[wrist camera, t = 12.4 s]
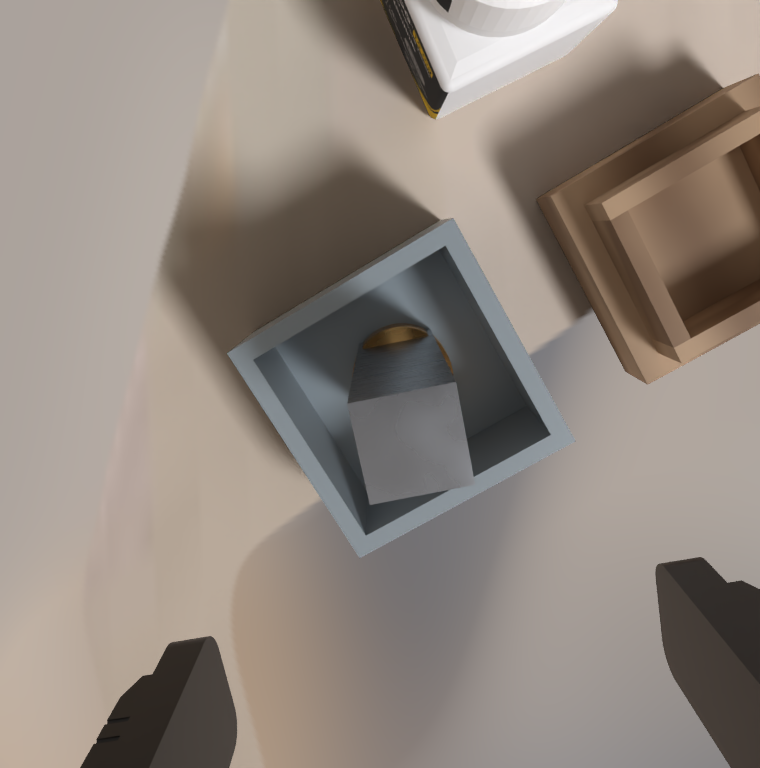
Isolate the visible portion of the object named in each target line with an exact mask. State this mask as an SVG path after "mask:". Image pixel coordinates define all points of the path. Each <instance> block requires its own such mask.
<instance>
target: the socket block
mask: <svg viewBox="0 0 760 768" xmlns="http://www.w3.org/2000/svg"><path fill="white" fill-rule="evenodd" d="M536 200H537V202H538V204H539V206H540V208H541V210H542V212H543V214H544V216H545V218H546V220H547V221H548V223H549V225H550V227H551V229H552V231H553V233H554V235H555V237H556V239H557V241H558V243H559V245H560V247H561V248H562V250H563V252H564V254H565V256H566V258H567V260H568V262H569V264H570V266H571V268H572V270H573V272H574V273H575V275H576V277H577V279H578V281H579V283H580V285H581V287H582V289H583V291H584V293H585V295H586V297H587V299H588V300H589V302H590V304H591V306H592V308H593V310H594V312H595V314H596V316H597V318H598V320H599V322H600V324H601V325H602V327H603V329H604V331H605V333H606V335H607V337H608V339H609V341H610V343H611V345H612V347H613V348H614V350H615V352H616V354H617V356H618V358H619V360H620V362H621V364H622V366H623V368H624V369H625V371H626V372H627V373H629V374H630V375H632V376H634V377H636V378H637V379H639V380H641V381H642V382H644V383H646V384H650V383H651V382H653V381H655V380H657V379H659V378H661V377H663V376H664V375H666V374H668V373H670V372H672V371H673V370H675V369H677V368H679V367H681V366H683V365H685V364H686V363H688V362H690V361H692V360H693V359H695V358H697V357H699V356H701V355H703V354H705V353H707V352H708V351H710V350H712V349H714V348H716V347H718V346H719V345H721V344H723V343H725V342H727V341H728V340H730V339H732V338H734V337H736V336H738V335H740V334H741V333H743V332H745V331H747V330H749V329H751V328H752V327H754V326H756V325H758V324H760V76H759V74H756V75H754V76H751V77H749V78H747V79H744V80H742V81H739V82H737V83H734V84H732V85H730V86H727V87H725V88H723V89H721V90H719V91H718V92H716V93H714V94H713V95H711V96H709V97H708V98H706V99H704V100H703V101H701V102H699V103H697V104H696V105H694V106H692V107H691V108H689V109H687V110H686V111H684V112H682V113H681V114H679V115H677V116H676V117H674V118H672V119H670V120H669V121H667V122H665V123H664V124H662V125H660V126H659V127H657V128H655V129H654V130H652V131H650V132H648V133H647V134H645V135H643V136H642V137H640V138H638V139H637V140H635V141H633V142H632V143H630V144H628V145H627V146H625V147H623V148H621V149H620V150H618V151H616V152H615V153H613V154H611V155H610V156H608V157H606V158H605V159H603V160H601V161H599V162H598V163H596V164H594V165H593V166H591V167H589V168H588V169H586V170H584V171H583V172H581V173H579V174H578V175H576V176H574V177H572V178H571V179H569V180H567V181H566V182H564V183H562V184H561V185H559V186H557V187H556V188H554V189H552V190H550V191H549V192H547V193H545V194H544V195H542V196H540V197H539V198H537V199H536Z"/></svg>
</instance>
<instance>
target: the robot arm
mask: <svg viewBox="0 0 760 768" xmlns="http://www.w3.org/2000/svg"><path fill="white" fill-rule="evenodd" d="M656 585H657V593H658V604H659V613H660V622H661V632H662V641H663V646H664V651H665V655H666V659H667V662H668V665H669V668H670V670H671V672H672V675H673V677H674V679H675V680H676V682H677V683H678V685H679V687H680V688H681V690H682V691H683V693H684V695H685V696H686V698H687V699H688V701H689V703H690V704H691V706H692V707H693V709H694V710H695V712H696V714H697V715H698V717H699V718H700V720H701V721H702V723H703V725H704V726H705V728H706V729H707V731H708V732H709V734H710V736H711V737H712V739H713V740H714V742H715V743H716V745H717V747H718V748H719V750H720V751H721V753H722V754H723V756H724V758H725V759H726V761H727V762H728V764H729V765H730V767H731V768H760V589H758V588H756V587H754V586H752V585H750V584H748V583H745V582H743V581H736V582H730V583H727V582H726V581H725V580H724V579H723V578H722V577H721V576H720V575H719V574H718V573H717V572H716V571H715V569H714V568H712V566H711V565H710V564H709V563H708V562H707V561H706V560H704V558H701V557H698V558H692V559H687V560H680V561H674V562H668V563H661V564H658V565H657V567H656ZM107 721H108V723H107V724H106V725H104V727H103V729H102V730H101V732H100V734H99V736H98V738H97V743H96V744H94V745H93V746H92V748H91V750H90V752H89V753H88V755H87V757H86V759H85V760H84V762H83V764H82V766H81V767H80V768H229V766H230V763H231V759H232V756H233V753H234V749H235V745H236V738H237V719H236V712H235V707H234V703H233V699H232V696H231V692H230V688H229V685H228V681H227V677H226V674H225V670H224V666H223V663H222V659H221V655H220V652H219V648H218V645H217V643H216V641H215V639H214V638H213V637H211V636H208V637H202V638H196V639H190V640H184V641H178V642H172V643H170V644H169V645H168V646H167V648H166V650H165V652H164V654H163V655H162V657H161V659H160V661H159V663H158V665H157V667H156V669H155V671H154V673H153V674H152V675H146V676H142V677H141V678H140V679H139V680H138V681H137V682H136V683H135V684H134V685H133V686H132V687H131V688H130V689H129V690H127V691H126V692H125V693H124V694H123V695H122V696H121V697H120V699H119V701H118V702H117V704H116V706H115V708H114V709H113V711H112V713H111V715H110V716H109V718H108V720H107Z"/></svg>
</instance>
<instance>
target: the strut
mask: <svg viewBox="0 0 760 768" xmlns="http://www.w3.org/2000/svg"><path fill="white" fill-rule="evenodd" d="M347 406H348V410H349V415H350V419H351V423H352V428H353V432H354V437H355V441H356V446H357V450H358V455H359V459H360V464H361V468H362V472H363V477H364V481H365V486H366V490H367V495H368V499H369V504H370V505H373V504H378V503H383V502H388V501H394V500H399V499H404V498H409V497H414V496H420V495H425V494H430V493H435V492H440V491H446V490H451V489H456V488H461V487H466V486H472V485H475V481H474V476H473V470H472V465H471V459H470V454H469V449H468V443H467V438H466V433H465V427H464V422H463V416H462V411H461V406H460V400H459V395H458V389H457V384H456V381H455V379H454V377H453V369H452V365H451V362H450V359H449V357H448V355H447V353H446V351H445V349H444V347H443V346H442V344H441V343H440V341H439V340H438V339H437V338H436V337H435V336H434V335H433V333H432V331H431V329H424V328H422V327H419V326H417V325H413V324H407V323H397V324H391V325H387V326H384V327H382V328H380V329H378V330H376V331H375V332H373V333H372V334H371V335H369V337H368V338H367V339H366V340H365V341H364V342H362V343H359V346H358V351H357V355H356V358H355V362H354V367H353V374H352V381H351V386H350V391H349V396H348V402H347Z"/></svg>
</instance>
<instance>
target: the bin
mask: <svg viewBox="0 0 760 768" xmlns="http://www.w3.org/2000/svg"><path fill="white" fill-rule="evenodd" d="M397 323H407V324H413V325H417V326H419V327H422V328H424V329H431V331H432V333H433V335H434V336H435V337H436V338H437V339H438V340H439V341H440V343H441V344H442V346H443V347H444V349H445V351H446V353H447V355H448V357H449V359H450V362H451V365H452V369H453V377H454V379H455V381H456V384H457V389H458V395H459V400H460V406H461V411H462V416H463V422H464V427H465V433H466V438H467V443H468V449H469V454H470V459H471V465H472V470H473V476H474V481H475V485H472V486H466V487H461V488H456V489H451V490H446V491H440V492H435V493H430V494H425V495H420V496H414V497H409V498H404V499H399V500H394V501H388V502H383V503H378V504H373V505H370V504H369V499H368V495H367V490H366V486H365V481H364V477H363V472H362V468H361V464H360V459H359V455H358V450H357V446H356V441H355V437H354V432H353V428H352V423H351V419H350V415H349V410H348V406H347V402H348V396H349V391H350V386H351V381H352V374H353V367H354V362H355V358H356V355H357V351H358V346H359V343H362V342H364V341H365V340H366V339H367V338H368V337H369V335H371V334H372V333H373V332H375V331H376V330H378V329H380V328H382V327H384V326H387V325H391V324H397ZM227 354H228V356H229V357H230V359H231V360H232V362H233V363H234V365H235V366H236V368H237V370H238V371H239V373H240V374H241V376H242V377H243V379H244V380H245V382H246V383H247V385H248V387H249V388H250V390H251V391H252V393H253V394H254V396H255V397H256V399H257V400H258V402H259V403H260V405H261V407H262V408H263V410H264V411H265V413H266V414H267V416H268V417H269V419H270V420H271V422H272V424H273V425H274V427H275V428H276V430H277V431H278V433H279V434H280V436H281V437H282V439H283V440H284V442H285V444H286V445H287V447H288V448H289V450H290V451H291V453H292V454H293V456H294V457H295V459H296V461H297V462H298V464H299V465H300V467H301V468H302V470H303V471H304V473H305V474H306V476H307V477H308V479H309V481H310V482H311V484H312V485H313V487H314V488H315V490H316V491H317V493H318V494H319V496H320V498H321V499H322V501H323V502H324V504H325V505H326V507H327V508H328V510H329V511H330V513H331V514H332V516H333V518H334V519H335V521H336V522H337V524H338V525H339V527H340V528H341V530H342V531H343V533H344V535H345V536H346V537H347V539H348V540H349V542H350V544H351V545H352V547H353V548H354V550H355V551H356V553H357V555H358V556H359V558H361V557H363V556H364V555H366V554H368V553H370V552H372V551H374V550H375V549H377V548H379V547H381V546H383V545H385V544H387V543H388V542H390V541H392V540H394V539H396V538H398V537H400V536H401V535H403V534H405V533H407V532H409V531H411V530H412V529H414V528H416V527H418V526H420V525H422V524H423V523H425V522H427V521H429V520H431V519H433V518H435V517H436V516H438V515H440V514H442V513H444V512H446V511H448V510H449V509H451V508H453V507H455V506H457V505H459V504H460V503H462V502H464V501H466V500H468V499H470V498H472V497H473V496H475V495H477V494H479V493H481V492H483V491H485V490H486V489H488V488H490V487H492V486H494V485H496V484H497V483H499V482H501V481H503V480H505V479H507V478H509V477H510V476H512V475H514V474H516V473H518V472H519V471H522V470H523V469H525V468H527V467H529V466H531V465H533V464H534V463H536V462H538V461H540V460H542V459H544V458H546V457H547V456H549V455H551V454H553V453H554V452H556V451H558V450H560V449H562V448H564V447H566V446H568V445H569V444H571V443H573V442H575V439H574V437H573V435H572V434H571V432H570V430H569V428H568V426H567V425H566V423H565V421H564V419H563V417H562V415H561V414H560V412H559V410H558V408H557V406H556V404H555V403H554V401H553V399H552V397H551V395H550V394H549V392H548V390H547V388H546V386H545V385H544V383H543V381H542V379H541V377H540V375H539V373H538V372H537V370H536V368H535V366H534V364H533V363H532V361H531V359H530V357H529V355H528V353H527V352H526V350H525V348H524V346H523V344H522V342H521V341H520V339H519V337H518V335H517V333H516V332H515V330H514V328H513V326H512V324H511V322H510V321H509V319H508V317H507V315H506V313H505V311H504V310H503V308H502V306H501V304H500V302H499V301H498V299H497V297H496V295H495V293H494V291H493V290H492V288H491V286H490V284H489V282H488V281H487V279H486V277H485V275H484V273H483V271H482V270H481V268H480V266H479V264H478V262H477V260H476V259H475V257H474V255H473V253H472V251H471V250H470V248H469V246H468V244H467V242H466V240H465V239H464V237H463V235H462V233H461V231H460V229H459V228H458V226H457V224H456V222H455V220H454V219H453V218H450V219H444V220H440V221H438V222H436V223H435V224H433V225H431V226H430V227H428V228H426V229H425V230H423V231H421V232H420V233H418V234H416V235H415V236H413V237H411V238H410V239H408V240H406V241H405V242H403V243H401V244H400V245H398V246H396V247H395V248H393V249H391V250H390V251H388V252H386V253H385V254H383V255H381V256H380V257H378V258H376V259H375V260H373V261H371V262H370V263H368V264H366V265H365V266H363V267H361V268H360V269H358V270H356V271H355V272H353V273H351V274H350V275H348V276H346V277H345V278H343V279H341V280H340V281H338V282H336V283H335V284H333V285H331V286H330V287H328V288H326V289H325V290H323V291H321V292H320V293H318V294H316V295H315V296H313V297H311V298H310V299H308V300H306V301H305V302H303V303H301V304H300V305H298V306H296V307H295V308H293V309H291V310H289V311H288V312H286V313H284V314H283V315H281V316H279V317H278V318H276V319H274V320H273V321H271V322H269V323H268V324H266V325H264V326H263V327H261V328H259V329H258V330H256V331H254V332H253V333H252V334H250V335H249V336H248V337H247V338H245V339H244V340H243V341H242V342H240V343H239V344H238V345H237V346H235V347H234V348H233V349H232V350H230V351H229V352H228V353H227Z"/></svg>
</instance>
